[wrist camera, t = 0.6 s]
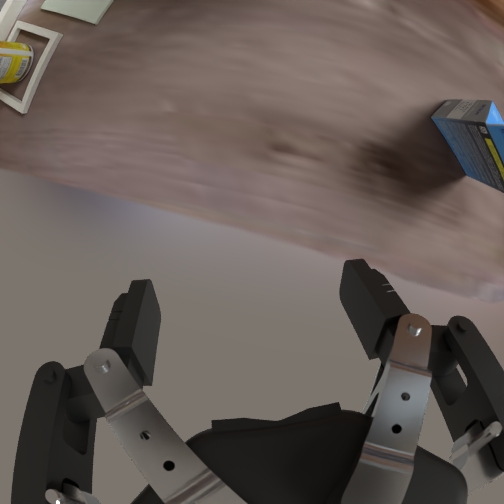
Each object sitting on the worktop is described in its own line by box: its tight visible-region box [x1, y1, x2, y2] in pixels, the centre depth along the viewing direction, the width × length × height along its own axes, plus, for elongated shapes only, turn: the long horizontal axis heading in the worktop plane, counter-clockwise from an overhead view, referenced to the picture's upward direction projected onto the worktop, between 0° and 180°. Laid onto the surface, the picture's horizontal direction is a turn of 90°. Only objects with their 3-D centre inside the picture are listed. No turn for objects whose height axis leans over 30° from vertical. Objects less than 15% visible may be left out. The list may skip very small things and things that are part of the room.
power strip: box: [0, 0, 27, 41], centre depth 16 cm, size 22×10×3 cm, turn 146°
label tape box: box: [431, 99, 504, 193], centre depth 19 cm, size 9×4×12 cm, turn 47°
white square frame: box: [0, 21, 63, 114], centre depth 21 cm, size 11×11×1 cm
